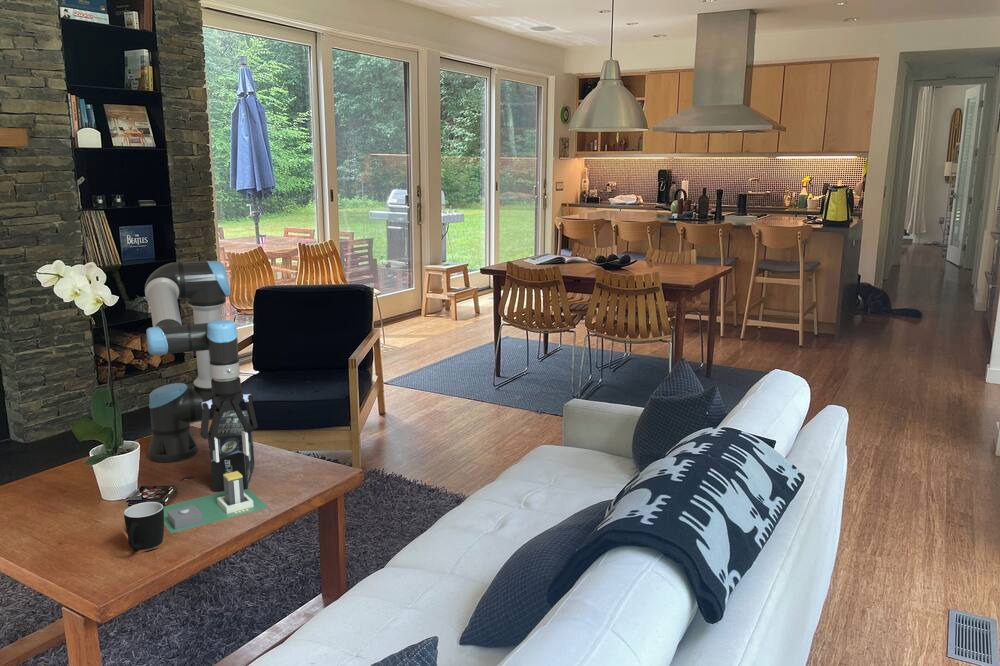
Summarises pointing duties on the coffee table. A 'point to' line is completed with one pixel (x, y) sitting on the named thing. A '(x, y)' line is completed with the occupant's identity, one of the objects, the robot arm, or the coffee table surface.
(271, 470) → the coffee table surface
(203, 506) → the board
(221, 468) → the box
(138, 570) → the coffee table surface
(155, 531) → the mug
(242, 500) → the plug
